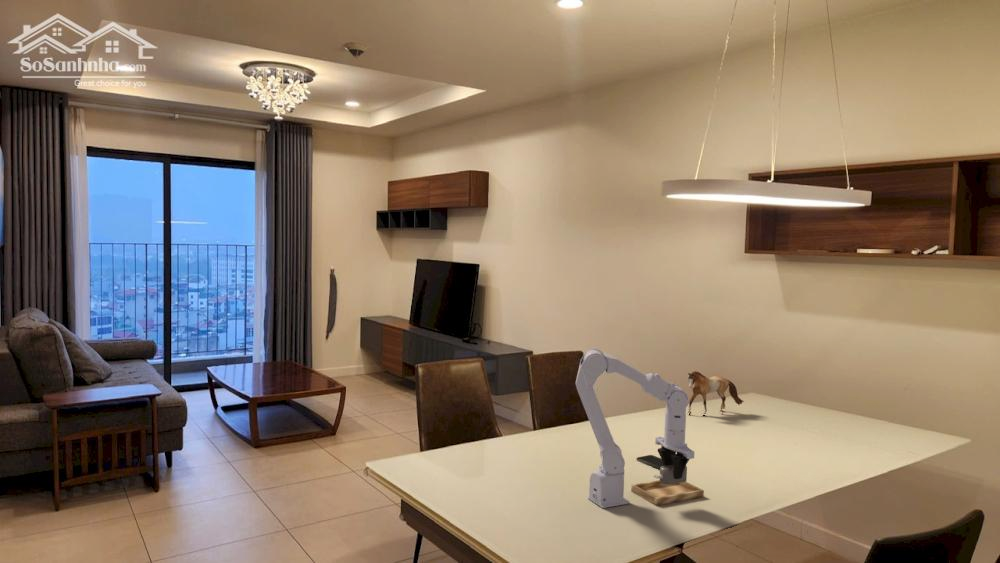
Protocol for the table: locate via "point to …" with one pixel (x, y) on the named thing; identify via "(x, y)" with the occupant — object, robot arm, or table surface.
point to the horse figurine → (711, 388)
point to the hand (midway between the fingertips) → (673, 475)
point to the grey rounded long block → (670, 475)
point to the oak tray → (666, 492)
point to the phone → (651, 461)
